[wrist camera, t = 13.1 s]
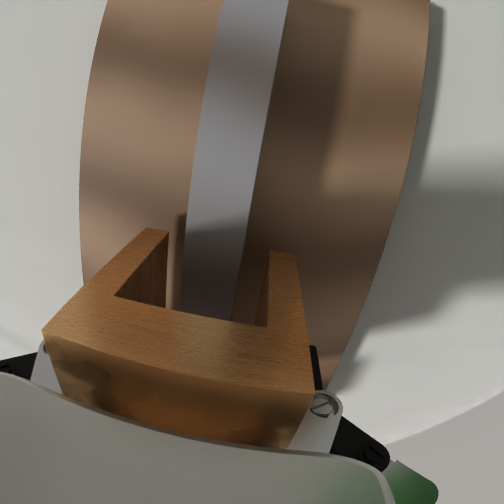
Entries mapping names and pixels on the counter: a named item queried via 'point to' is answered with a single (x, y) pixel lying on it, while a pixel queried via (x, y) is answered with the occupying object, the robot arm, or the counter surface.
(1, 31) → the counter surface
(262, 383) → the wooden block
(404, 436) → the counter surface
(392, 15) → the rail board
